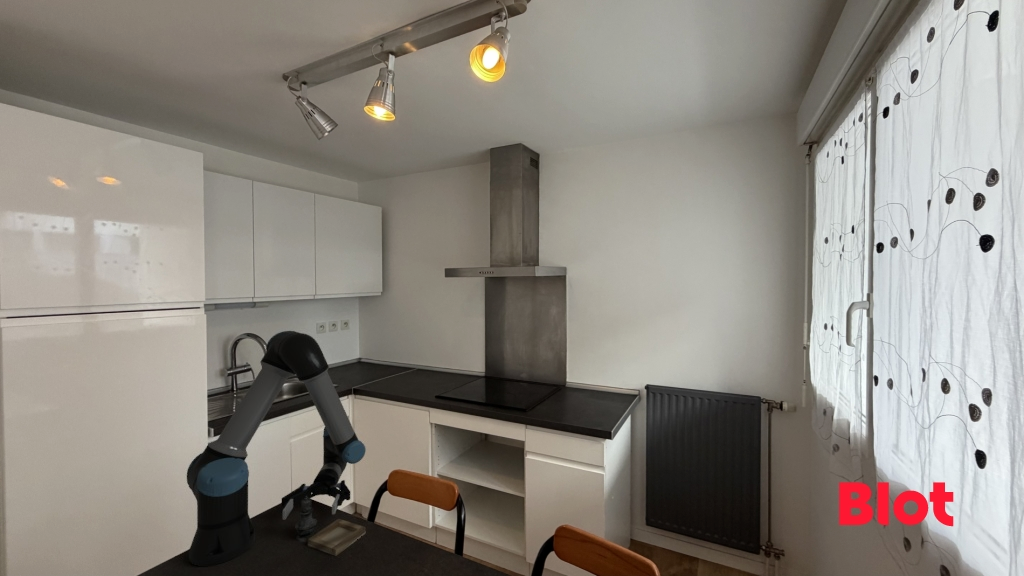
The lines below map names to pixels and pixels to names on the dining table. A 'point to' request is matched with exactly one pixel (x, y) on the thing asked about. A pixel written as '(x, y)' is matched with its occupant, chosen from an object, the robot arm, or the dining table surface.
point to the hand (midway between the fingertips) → (308, 512)
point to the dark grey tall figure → (305, 521)
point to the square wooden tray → (336, 537)
